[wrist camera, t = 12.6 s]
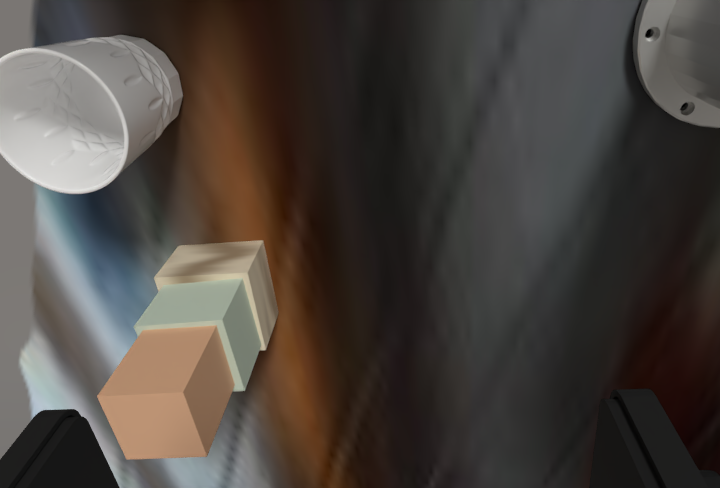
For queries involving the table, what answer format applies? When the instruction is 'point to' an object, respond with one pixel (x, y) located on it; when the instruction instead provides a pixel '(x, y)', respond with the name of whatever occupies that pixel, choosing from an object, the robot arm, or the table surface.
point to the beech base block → (227, 275)
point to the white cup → (84, 109)
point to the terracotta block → (169, 393)
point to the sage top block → (210, 319)
